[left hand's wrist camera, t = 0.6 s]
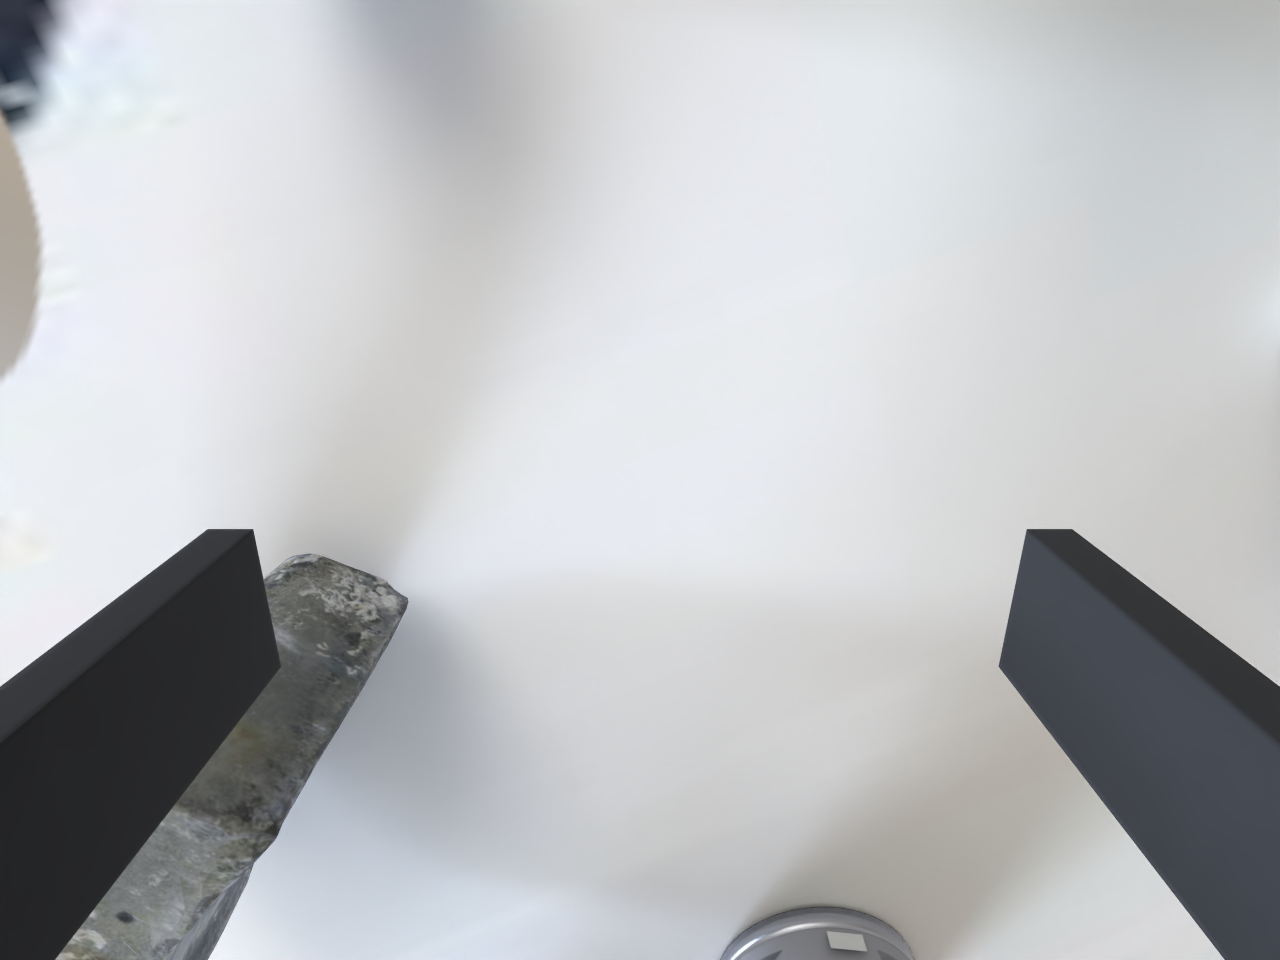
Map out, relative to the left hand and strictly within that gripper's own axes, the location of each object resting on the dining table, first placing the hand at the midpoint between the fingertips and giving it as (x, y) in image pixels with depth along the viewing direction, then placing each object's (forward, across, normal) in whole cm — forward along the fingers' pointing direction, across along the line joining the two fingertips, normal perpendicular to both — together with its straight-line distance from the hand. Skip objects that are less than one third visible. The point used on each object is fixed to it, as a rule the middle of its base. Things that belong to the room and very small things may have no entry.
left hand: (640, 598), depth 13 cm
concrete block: (+28, +23, +23) cm, 43 cm away
